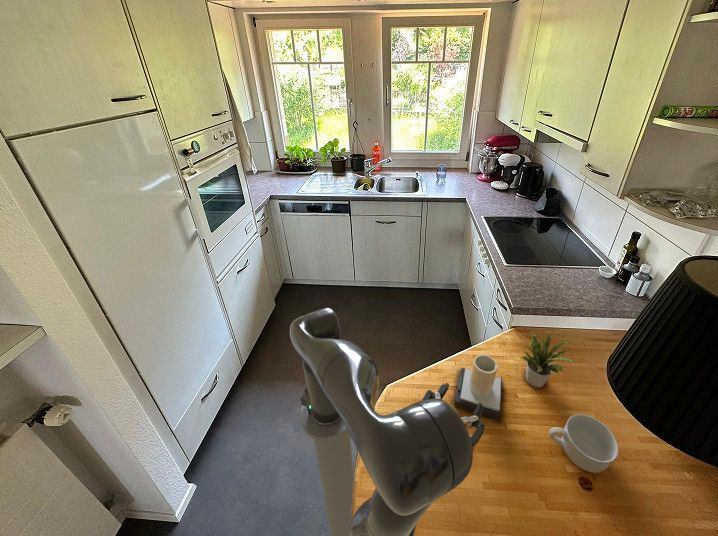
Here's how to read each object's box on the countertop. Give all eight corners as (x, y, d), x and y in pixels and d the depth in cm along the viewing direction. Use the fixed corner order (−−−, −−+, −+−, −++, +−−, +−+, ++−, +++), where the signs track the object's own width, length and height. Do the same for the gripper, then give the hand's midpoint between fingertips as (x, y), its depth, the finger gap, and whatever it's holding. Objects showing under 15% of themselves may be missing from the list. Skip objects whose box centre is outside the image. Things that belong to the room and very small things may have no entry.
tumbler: (467, 393, 90) (472, 369, 86) (470, 375, 96) (475, 351, 91) (490, 400, 88) (496, 376, 84) (492, 382, 94) (498, 357, 89)
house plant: (573, 381, 97) (589, 342, 90) (555, 412, 89) (571, 371, 81) (526, 355, 106) (537, 317, 99) (506, 380, 98) (517, 341, 90)
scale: (454, 406, 90) (455, 399, 89) (460, 372, 100) (461, 365, 99) (499, 420, 87) (501, 413, 85) (501, 384, 97) (502, 376, 95)
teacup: (604, 443, 81) (615, 424, 78) (611, 489, 73) (623, 470, 69) (544, 421, 87) (551, 402, 83) (543, 461, 78) (551, 441, 74)
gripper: (464, 465, 60) (495, 401, 72) (401, 420, 68) (438, 369, 79) (459, 486, 64) (490, 422, 75) (400, 441, 71) (436, 389, 83)
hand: (463, 395), depth 77 cm, fingers open, 8 cm apart
